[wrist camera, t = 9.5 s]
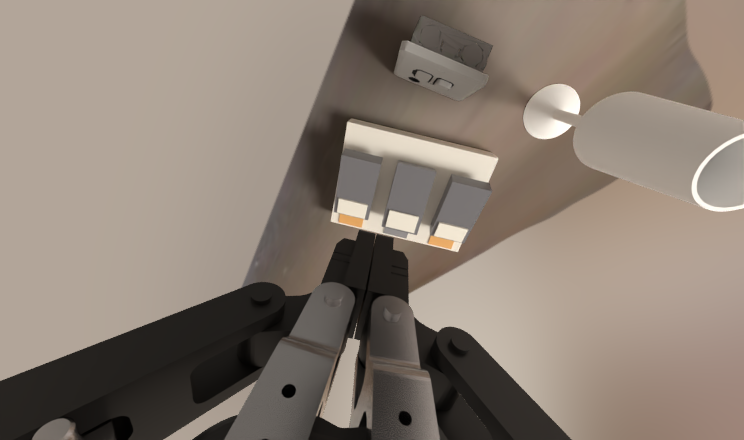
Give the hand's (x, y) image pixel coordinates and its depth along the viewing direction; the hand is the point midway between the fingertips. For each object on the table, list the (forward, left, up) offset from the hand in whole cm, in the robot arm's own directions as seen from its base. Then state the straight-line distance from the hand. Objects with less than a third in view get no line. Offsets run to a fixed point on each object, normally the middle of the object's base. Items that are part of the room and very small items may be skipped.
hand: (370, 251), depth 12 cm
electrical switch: (-8, +3, -31) cm, 32 cm away
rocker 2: (+8, +11, -26) cm, 29 cm away
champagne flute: (-6, +19, -31) cm, 37 cm away
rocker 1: (+8, -3, -26) cm, 27 cm away
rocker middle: (+8, +4, -26) cm, 27 cm away
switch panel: (+8, +4, -31) cm, 32 cm away
